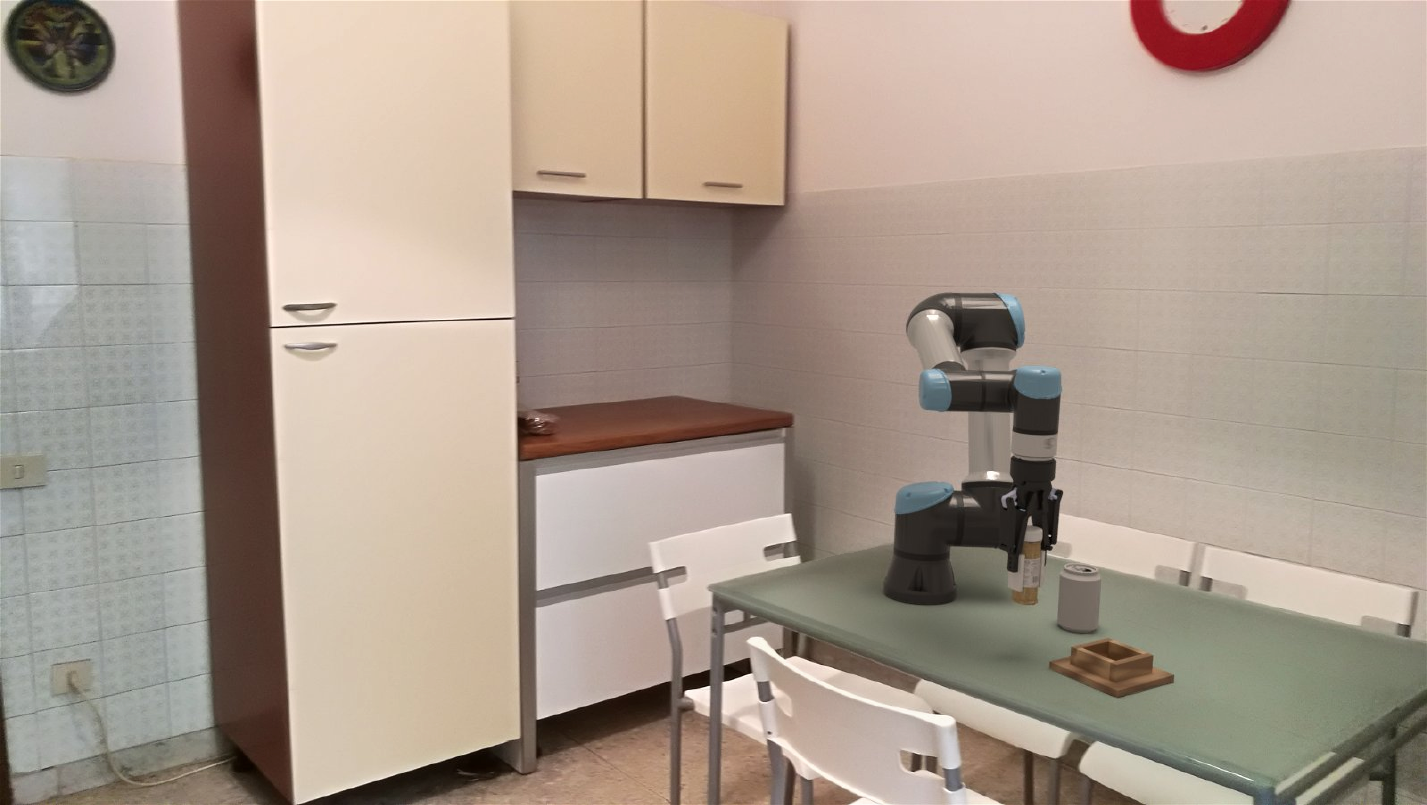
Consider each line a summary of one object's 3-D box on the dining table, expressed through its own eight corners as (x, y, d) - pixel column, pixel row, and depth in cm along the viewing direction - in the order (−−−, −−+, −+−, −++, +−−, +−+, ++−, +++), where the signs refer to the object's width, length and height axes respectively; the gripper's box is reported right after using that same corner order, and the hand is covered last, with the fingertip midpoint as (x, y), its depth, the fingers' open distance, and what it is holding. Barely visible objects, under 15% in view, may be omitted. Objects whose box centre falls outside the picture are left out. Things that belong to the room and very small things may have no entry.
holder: (1048, 668, 177) (1050, 644, 176) (1104, 654, 184) (1105, 631, 183) (1117, 697, 165) (1118, 672, 164) (1173, 681, 172) (1175, 657, 171)
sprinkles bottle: (1025, 596, 184) (1029, 522, 182) (1043, 604, 180) (1048, 529, 178) (1005, 599, 182) (1009, 525, 180) (1023, 607, 178) (1028, 532, 176)
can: (1101, 635, 193) (1105, 573, 192) (1059, 632, 195) (1062, 570, 193) (1094, 622, 200) (1098, 562, 199) (1054, 619, 202) (1057, 559, 200)
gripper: (1013, 465, 170) (1005, 601, 173) (1086, 455, 178) (1076, 585, 182) (980, 456, 176) (973, 588, 180) (1052, 448, 185) (1043, 573, 188)
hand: (1025, 586), depth 181 cm, fingers closed on sprinkles bottle, 4 cm apart
